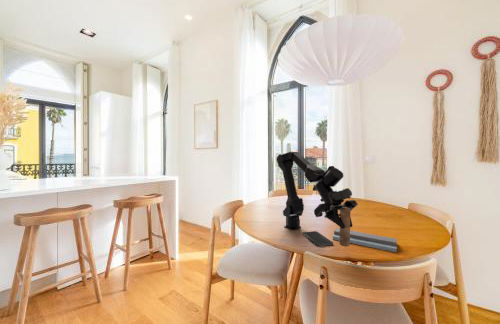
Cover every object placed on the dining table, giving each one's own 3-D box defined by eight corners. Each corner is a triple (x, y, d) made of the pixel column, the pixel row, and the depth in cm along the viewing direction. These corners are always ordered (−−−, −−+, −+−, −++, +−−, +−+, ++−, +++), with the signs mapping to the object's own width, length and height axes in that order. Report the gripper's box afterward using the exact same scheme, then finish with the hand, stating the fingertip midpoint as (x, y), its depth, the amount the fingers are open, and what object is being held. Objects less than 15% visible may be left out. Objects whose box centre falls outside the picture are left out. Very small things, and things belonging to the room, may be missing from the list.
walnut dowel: (337, 244, 86) (338, 208, 86) (342, 241, 89) (343, 206, 88) (346, 247, 83) (347, 210, 83) (351, 244, 86) (352, 208, 85)
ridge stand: (332, 239, 100) (332, 232, 100) (337, 232, 109) (337, 226, 109) (396, 252, 87) (396, 245, 87) (396, 243, 96) (396, 236, 96)
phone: (317, 245, 93) (301, 232, 107) (317, 247, 93) (301, 234, 107) (334, 243, 94) (316, 230, 109) (334, 245, 94) (316, 233, 109)
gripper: (319, 183, 84) (342, 220, 75) (354, 180, 92) (378, 213, 83) (305, 199, 92) (324, 235, 82) (339, 195, 100) (359, 227, 91)
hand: (347, 227), depth 84 cm, fingers closed on walnut dowel, 4 cm apart
